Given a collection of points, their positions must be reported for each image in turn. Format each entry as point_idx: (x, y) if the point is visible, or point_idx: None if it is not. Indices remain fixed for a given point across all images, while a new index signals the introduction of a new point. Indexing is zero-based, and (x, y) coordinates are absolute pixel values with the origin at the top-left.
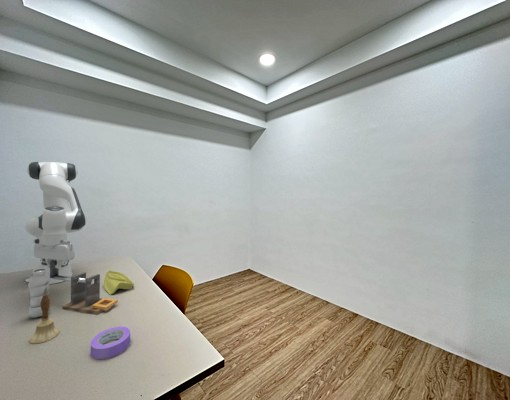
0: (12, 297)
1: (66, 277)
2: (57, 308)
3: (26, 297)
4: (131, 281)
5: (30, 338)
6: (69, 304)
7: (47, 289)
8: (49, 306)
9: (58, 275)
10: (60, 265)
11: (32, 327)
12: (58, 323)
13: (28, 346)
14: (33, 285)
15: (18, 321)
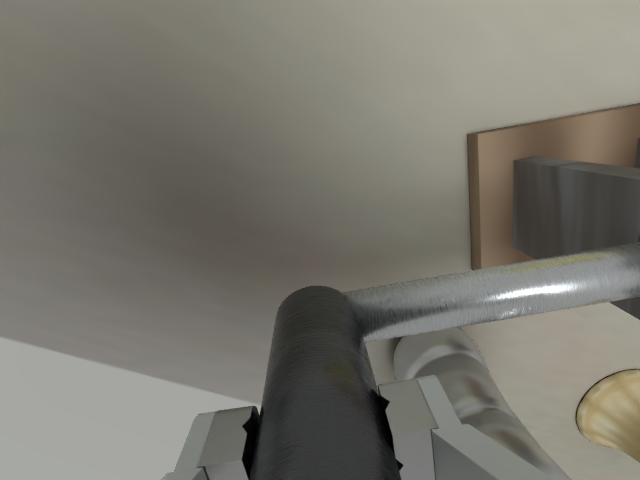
0: (18, 312)
1: (536, 312)
2: (435, 275)
3: (92, 278)
4: None
5: (601, 444)
6: (505, 250)
7: (547, 454)
8: (473, 344)
9: (389, 327)
10: (451, 419)
11: (506, 400)
12: (588, 345)
13: (621, 451)
14: None
15: None
